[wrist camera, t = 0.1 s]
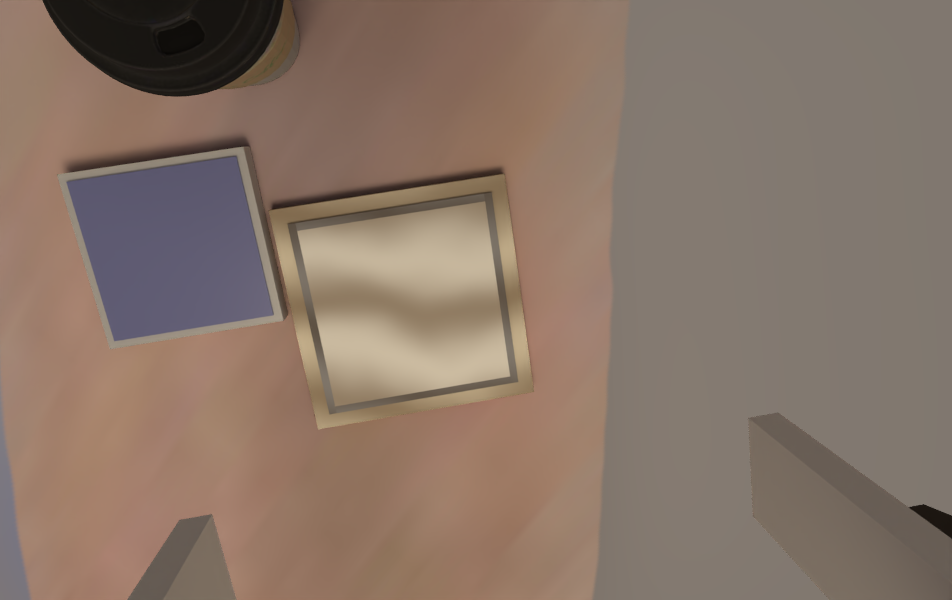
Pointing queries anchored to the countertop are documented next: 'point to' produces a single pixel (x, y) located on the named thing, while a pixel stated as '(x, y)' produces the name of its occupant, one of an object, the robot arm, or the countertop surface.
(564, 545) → the countertop surface
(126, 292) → the ink pad
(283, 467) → the countertop surface
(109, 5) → the coffee cup
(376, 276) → the board
